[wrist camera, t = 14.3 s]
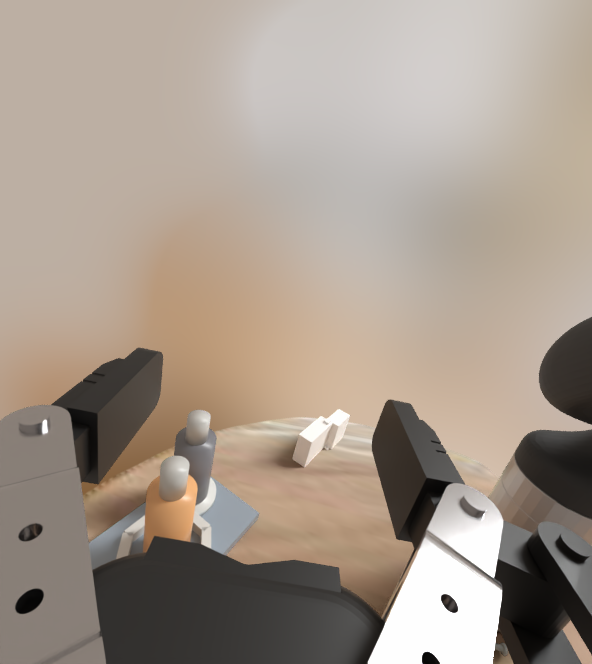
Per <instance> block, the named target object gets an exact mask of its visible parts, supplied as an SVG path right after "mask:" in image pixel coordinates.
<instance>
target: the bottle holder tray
mask: <svg viewBox="0 0 592 664" xmlns="http://www.w3.org/2000/svg"><path fill="white" fill-rule="evenodd" d="M209 424H210V414H209V413H208V412H206V411H204V410H194V411H192V412H190V413H189V415H188V420H187V427H186V428H184V429H182V430H181V431H179V433H178V434H177V436H176V442H175V452H174V456H182V457H184V458H186V459H187V460H188V461H189V473H188V475H190V476H191V477H193V478H194V480H195V481H196V483H197V488H198V490H197V497H196V504H195V511H194V518H193V526H192V533H191V540H190V542H193V543H199V544H202V545H204V546H206V547H209V548H211V549H213V550H215V551H217V552H219V553H221V554H223V555H225V556H226V555H227V553H228V552H229V551H230V550H231V549H232V548H233V547H234V545H235V544H236V543H237V542H238V541H239V540H240V539H241V537H242V536H243V535H244V534H245V533H246V532H247V531H248V529H249V528H250V527H251V526H252V525H253V524H254V523H255V521H256V520H257V519H258V516H259V513H258V512H257V511H256V510H254V509H253V508H252V507H250V506H249V505H248V504H247V503H245V502H244V501H243V500H241V499H240V498H239V497H237V496H236V495H235V494H233V493H232V492H231V491H229V490H228V489H227V488H225V487H224V486H223V485H222V484H220V483H219V482H218V481H216V480H215V479H214V478H212V477H211V470H212V464H213V458H214V451H215V445H216V435H215V433H214V432H213V431H212V430H211V429H210V428H209ZM145 510H146V502H145V503H143V504H142V505H141V506H139V507H138V508H136V509H135V510H134V511H132V512H131V513H130V514H128V515H127V516H125V517H124V518H123V519H121V520H120V521H118V522H117V523H116V524H114V525H113V526H112V527H110V528H109V529H107V530H106V531H105V532H103V533H102V534H101V535H99V536H98V537H96V538H95V539H94V540H92V541H91V542H89V549H90V557H91V564H92V570H93V569H95V568H97V567H99V566H101V565H103V564H106V563H108V562H110V561H112V560H115V559H118V558H121V557H124V556H128V555H133V554H137V553H143V541H144V526H145Z"/></svg>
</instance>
